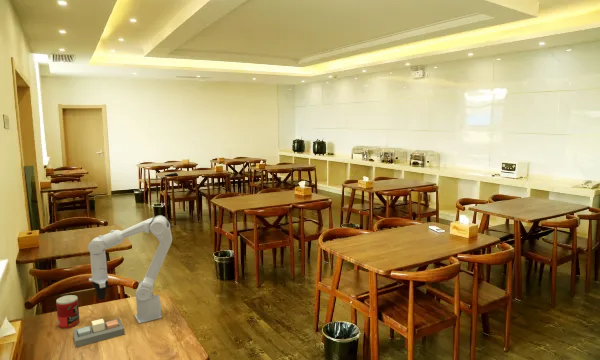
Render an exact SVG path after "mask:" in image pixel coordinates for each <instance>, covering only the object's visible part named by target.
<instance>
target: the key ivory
mask: <svg viewBox="0 0 600 360" xmlns="http://www.w3.org/2000/svg"><path fill="white" fill-rule="evenodd" d="M104 322H105V320H104V319H103V318H99V319H95V320H91V325H92V329H93V333H95V332H98V331H102V330H105V325H104Z"/></svg>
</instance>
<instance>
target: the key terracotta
mask: <svg viewBox="0 0 600 360" xmlns="http://www.w3.org/2000/svg"><path fill="white" fill-rule="evenodd" d="M112 320H113V321H110V320H108V321H109V322H106V321H105V322H106V328H107V330H108V329H112V328H115V327H119V324H118V321H117V320H114V319H112Z"/></svg>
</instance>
